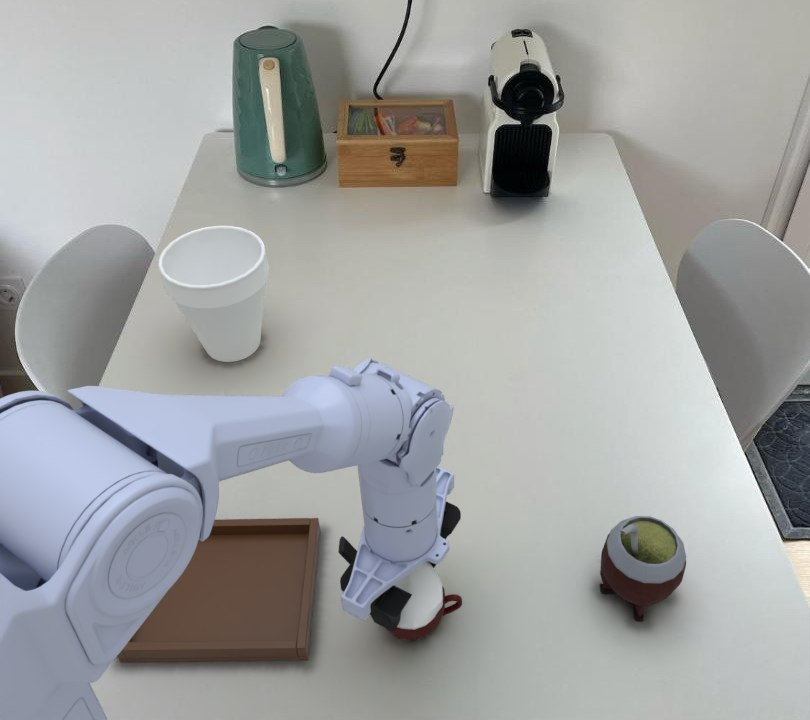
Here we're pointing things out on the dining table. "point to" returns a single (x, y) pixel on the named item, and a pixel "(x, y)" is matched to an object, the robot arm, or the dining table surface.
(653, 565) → the mate gourd
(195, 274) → the cup
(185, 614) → the tray
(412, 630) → the cocoa
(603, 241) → the dining table surface
